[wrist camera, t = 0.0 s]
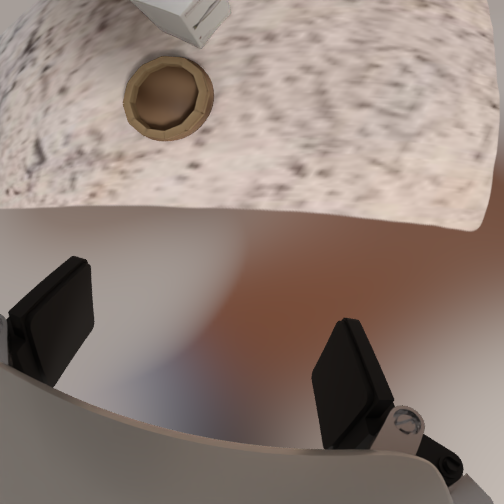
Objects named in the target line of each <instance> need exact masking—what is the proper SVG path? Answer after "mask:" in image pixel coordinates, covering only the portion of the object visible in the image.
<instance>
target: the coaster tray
mask: <svg viewBox="0 0 504 504" xmlns="http://www.w3.org/2000/svg"><path fill="white" fill-rule="evenodd" d="M213 101H214V90H213V85H212V82H211V80H210V78H209V76H208V75H207V73H206V72H205V71H204V70H203V69H202V68H201V67H200V66H199V65H198V64H196V63H195V62H193V61H191V60H189V59H186V58H181V57H169V56H163V57H162V56H161V57H159V58H157V59H154V60H152V61H150V62H148V63H146V64H143V65H142V66H141V67H140V68H139V69H138V70H137V71H136V73H135V74H134V75H133V76H132V78H131V79H130V80H129V81H128V83H127V86H126V91H125V95H124V99H123V103H124V104H123V107H124V110H125V113H126V117H127V120H128V123H129V124H130V125H131V126H133V127H134V128H135V129H136V130H137V131H138V132H140V133H141V134H142V135H143V136H146V137H148V138H150V139H153V140H157V141H173V140H179V139H182V138H185V137H187V136H189V135H191V134H192V133H194V132H195V131H196V130H198V129H199V128H200V127H201V126H202V125H203V123H204V122H205V121H206V119H207V118H208V116H209V114H210V112H211V109H212V106H213Z"/></svg>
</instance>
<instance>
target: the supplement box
mask: <svg viewBox="0 0 504 504" xmlns="http://www.w3.org/2000/svg"><path fill="white" fill-rule="evenodd" d="M130 1H131V2H132V3H134V4H135V5H136V6H137V7H138V8H139V9H140V10H141V11H142V12H143V13H144V14H145V15H146V16H147V17H148V18H149V19H150V20H151V21H152V22H153V23H154V24H155V25H156V26H157V27H158V28H159V29H160V30H161V31H163V32H166V33H168V34H170V35H173V36H175V37H177V38H179V39H181V40H183V41H185V42H187V43H189V44H191V45H194V46H196V47H198V48H200V49H202V47H203V46H204V45H205V43H206V42H207V40H208V39H209V38H210V36H211V35H212V34H213V33H214V32H215V30H216V29H217V28H218V27H219V26H220V24H221V23H222V22H223V21H224V20H225V19H226V18H227V17H228V16H229V15H230V14H231V10H230V5H229V1H228V0H130Z"/></svg>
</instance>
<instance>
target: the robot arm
mask: <svg viewBox="0 0 504 504" xmlns="http://www.w3.org/2000/svg"><path fill="white" fill-rule="evenodd" d="M8 313H9V317H8V318H7V319H5V317H4V316H2V315H1V314H0V504H493V501H492V500H491V498H490V497H489V496H488V495H487V494H486V493H485V492H484V491H483V490H482V489H481V488H480V487H479V486H478V485H477V483H475V482H474V480H473V479H472V478H471V477H470V476H469V475H468V474H465V475H464V476H463V475H462V474H463V464H462V461H461V459H460V458H459V457H458V456H457V455H456V454H455V453H453V452H452V451H450V450H448V449H447V448H445V447H444V446H442V445H440V444H439V443H437V442H435V441H434V440H432V439H431V438H429V437H428V436H426V435H424V434H423V433H424V429H425V424H424V420H423V418H422V417H421V415H420V414H419V413H418V412H417V411H416V410H414V409H413V408H410V407H408V406H403V405H402V406H396V407H395V406H394V403H393V401H394V398H393V395H392V393H391V390H390V388H389V386H388V383H387V381H386V378H385V376H384V374H383V372H382V369H381V367H380V365H379V362H378V360H377V358H376V356H375V354H374V351H373V349H372V347H371V345H370V343H369V340H368V338H367V336H366V334H365V332H364V329H363V327H362V325H361V323H360V321H359V320H356V319H350V318H343V319H342V321H338V322H337V323H336V325H335V327H334V329H333V332H332V334H331V336H330V338H329V340H328V342H327V344H326V346H325V348H324V350H323V352H322V354H321V356H320V358H319V360H318V362H317V364H316V366H315V368H314V369H313V372H312V384H313V389H314V394H315V401H316V406H317V412H318V418H319V424H320V430H321V435H322V442H323V447H324V449H325V450H324V449H323V450H322V449H297V448H280V447H269V446H258V445H250V444H242V443H235V442H228V441H223V440H216V439H211V438H205V437H201V436H196V435H191V434H186V433H182V432H178V431H173V430H170V429H166V428H162V427H158V426H154V425H151V424H147V423H144V422H141V421H137V420H134V419H131V418H128V417H125V416H122V415H119V414H116V413H112V412H110V411H107V410H105V409H102V408H99V407H97V406H94V405H91V404H88V403H86V402H84V401H81V400H79V399H77V398H74V397H72V396H70V395H67V394H65V393H63V392H61V391H59V390H56V389H54V388H53V387H54V386H55V384H56V383H57V381H58V379H59V378H60V377H61V375H62V374H63V372H64V370H65V369H66V367H67V366H68V364H69V363H70V361H71V360H72V358H73V357H74V355H75V354H76V352H77V351H78V349H79V348H80V347H81V345H82V344H83V342H84V341H85V339H86V338H87V336H88V335H89V334H90V332H91V331H92V329H93V327H94V312H93V300H92V284H91V266H90V265H89V264H88V262H87V260H86V259H83V258H79V257H76V256H72V257H70V258H69V259H68V260H67V261H65V262H64V263H63V264H62V265H61V266H60V267H58V268H57V269H56V270H55V271H53V272H52V273H51V274H50V275H49V276H47V277H46V278H45V279H44V280H43V281H41V282H40V283H39V284H38V285H37V286H36V287H35V288H34V289H32V290H31V291H30V292H29V293H28V294H27V295H26V296H25V297H24V298H22V299H21V300H20V301H19V302H18V303H17V304H16V305H15V306H14V307H13V308H12V309H11V310H10V311H9V312H8Z"/></svg>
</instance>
